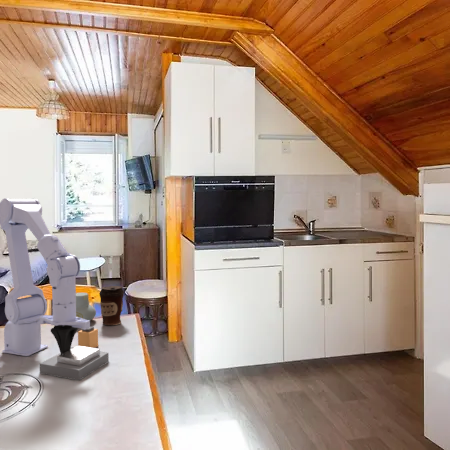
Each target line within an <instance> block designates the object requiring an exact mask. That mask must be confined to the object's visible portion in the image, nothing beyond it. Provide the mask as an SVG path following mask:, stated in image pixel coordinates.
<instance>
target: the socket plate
mask: <svg viewBox="0 0 450 450" xmlns="http://www.w3.org/2000/svg"><path fill="white" fill-rule="evenodd" d="M74 347H75V346H74ZM74 347H73V346H71V348H70V349H72V348H74ZM59 355H61V353H58V354H56V355H53V356H52V357H50V358H48V359H46V360H43V361H42V362H40V363H39V374H41V375H47V376H51V377H53V376H54V377H59V378H64V379H65V378H66V379H70V380H75V381H80V380H82V379H83V378H85V377H87V376H88V375H90V374H91V373H93V372H94V371H96V370H98V369H99V368H101V367H102V366H104V365H106V364H107V363H109V352H107V351H101V350H100V355H98V356H96V357H94V358H93V359H91V360H89V361H88V362H86V363H84V364H82V365H81V366H77V365H71V364H65V363H59V362H57V356H59Z"/></svg>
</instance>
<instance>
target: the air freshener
mask: <svg viewBox="0 0 450 450" xmlns="http://www.w3.org/2000/svg"><path fill="white" fill-rule="evenodd" d="M89 303H90V302H89V293H87V292H76V317H79V318H82V319H85V320H90V321H92V320H93V319H94V318H95V317H96V315H97V311H96V308H95V307H94V306H93V305H91V304H89Z"/></svg>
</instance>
